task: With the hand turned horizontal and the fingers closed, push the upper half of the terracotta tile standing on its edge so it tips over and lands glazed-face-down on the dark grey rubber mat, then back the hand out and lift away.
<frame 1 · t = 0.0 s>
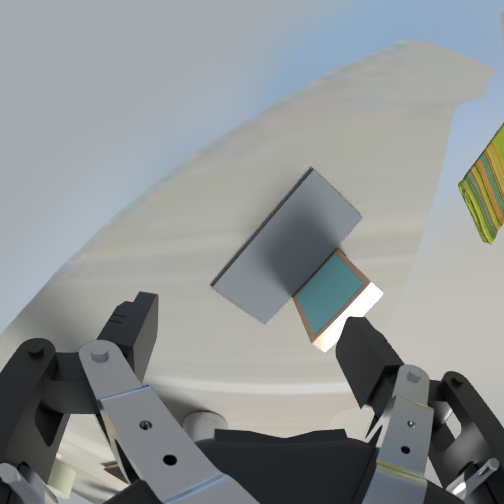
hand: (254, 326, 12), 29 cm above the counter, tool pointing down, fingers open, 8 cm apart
can: (64, 467, 62), on the counter
mat: (287, 251, 42), on the counter
hardcover book: (149, 471, 62), on the counter
tile: (320, 278, 44), on the counter
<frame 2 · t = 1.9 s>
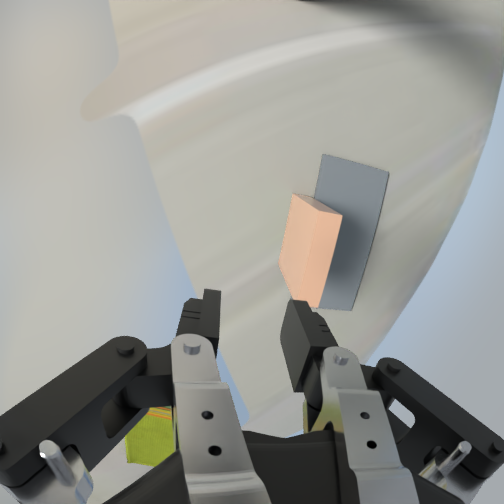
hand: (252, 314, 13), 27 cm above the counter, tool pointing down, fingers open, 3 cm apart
mat: (339, 238, 41), on the counter
dish towel: (159, 424, 52), on the counter
tile: (294, 230, 40), on the counter
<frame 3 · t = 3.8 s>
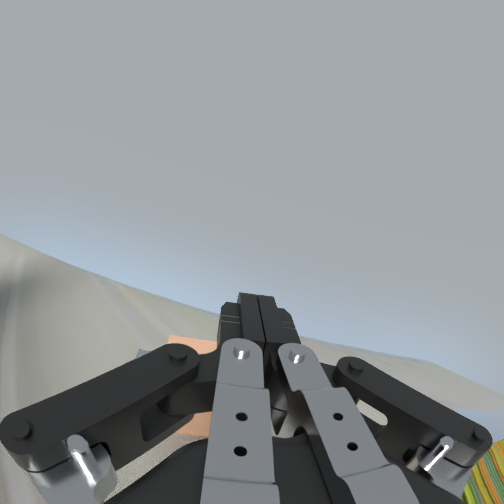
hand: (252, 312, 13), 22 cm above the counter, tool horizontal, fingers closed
tile: (211, 429, 29), on the counter
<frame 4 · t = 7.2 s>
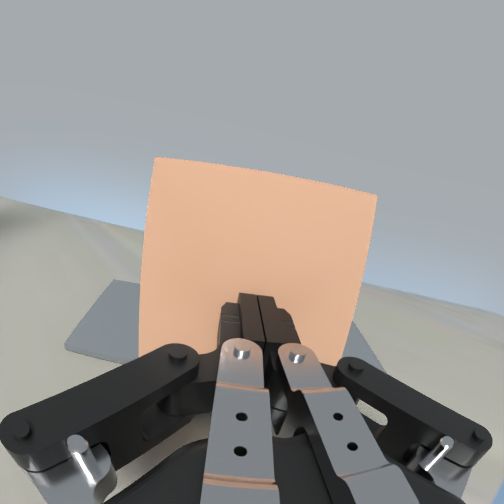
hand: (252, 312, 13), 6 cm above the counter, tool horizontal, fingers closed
mat: (230, 334, 22), on the counter
tile: (232, 398, 15), on the counter, tilted 9°
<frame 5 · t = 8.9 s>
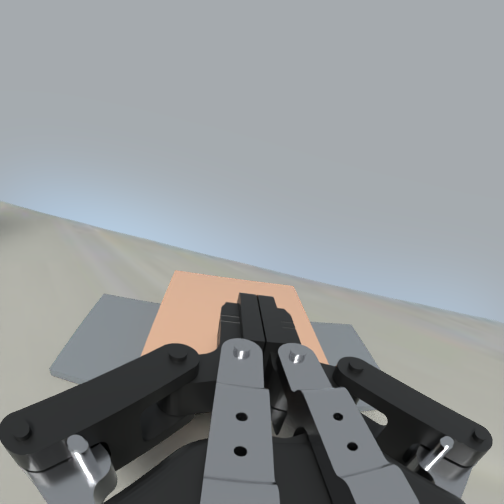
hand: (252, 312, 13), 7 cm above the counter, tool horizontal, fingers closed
mat: (230, 356, 19), on the counter
tile: (237, 397, 14), point 2 cm above the counter, tilted 90°, touching mat
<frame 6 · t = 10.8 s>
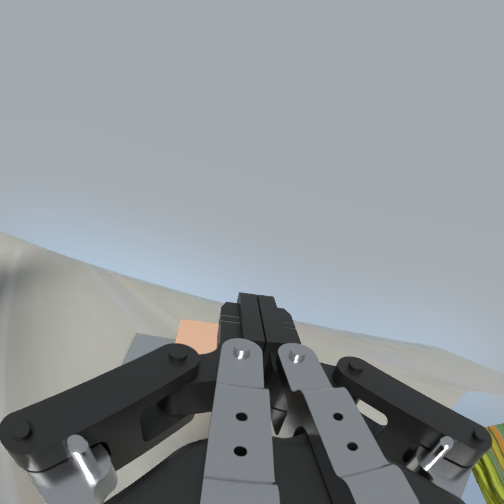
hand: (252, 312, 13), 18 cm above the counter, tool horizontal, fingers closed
mat: (214, 371, 33), on the counter
tile: (215, 392, 28), point 2 cm above the counter, tilted 90°, touching mat
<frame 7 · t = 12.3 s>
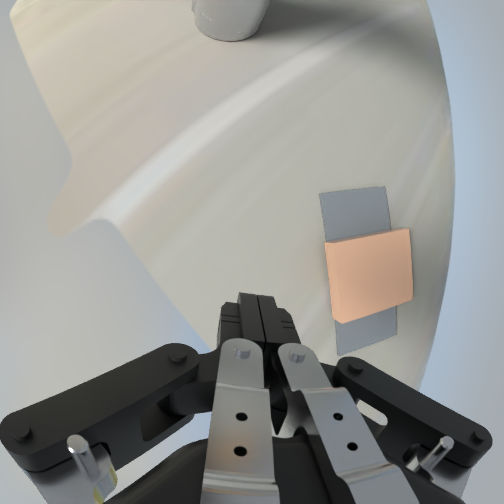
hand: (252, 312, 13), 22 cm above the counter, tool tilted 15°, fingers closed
mat: (363, 271, 38), on the counter
tile: (333, 283, 35), point 2 cm above the counter, tilted 90°, touching mat
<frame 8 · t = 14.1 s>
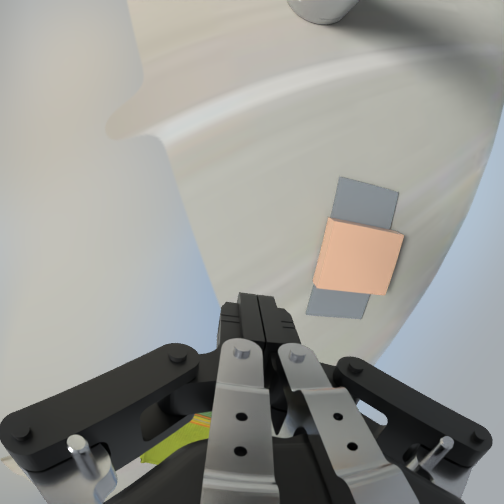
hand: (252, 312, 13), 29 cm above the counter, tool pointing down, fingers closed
mat: (352, 253, 44), on the counter
dish towel: (179, 427, 56), on the counter
tile: (323, 252, 42), point 2 cm above the counter, tilted 90°, touching mat
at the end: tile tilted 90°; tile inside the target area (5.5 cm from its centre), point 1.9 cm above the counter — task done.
